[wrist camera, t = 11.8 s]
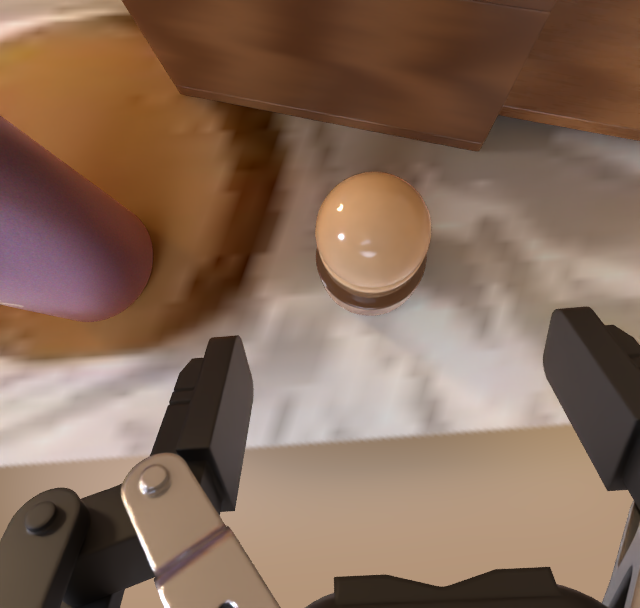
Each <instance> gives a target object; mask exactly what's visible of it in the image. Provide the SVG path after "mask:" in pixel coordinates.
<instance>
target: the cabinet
mask: <svg viewBox="0 0 640 608" xmlns="http://www.w3.org/2000/svg"><path fill="white" fill-rule="evenodd" d="M556 1H557V0H122V2H123V3H124V5H125V6H126V8H127V10H128V11H129V13H130V14H131V16H132V18H133V19H134V21H135V22H136V24H137V26H138V27H139V29H140V30H141V32H142V33H143V35H144V37H145V38H146V40H147V41H148V43H149V45H150V46H151V48H152V49H153V51H154V53H155V54H156V56H157V57H158V59H159V61H160V62H161V64H162V65H163V67H164V69H165V70H166V72H167V73H168V75H169V76H170V78H171V80H172V81H173V83H174V84H175V85H176V87H177V89H178V91H179V92H180V93H181V94H184V95H189V96H194V97H199V98H204V99H209V100H214V101H220V102H225V103H230V104H235V105H240V106H245V107H251V108H256V109H261V110H266V111H271V112H276V113H282V114H287V115H292V116H297V117H302V118H307V119H312V120H318V121H323V122H328V123H333V124H338V125H343V126H349V127H354V128H359V129H364V130H369V131H374V132H380V133H385V134H390V135H395V136H400V137H405V138H410V139H416V140H421V141H426V142H431V143H436V144H441V145H447V146H452V147H457V148H462V149H467V150H472V151H480V149H481V147H482V145H483V143H484V141H485V139H486V137H487V135H488V134H489V132H490V130H491V128H492V126H493V124H494V122H495V120H496V118H497V116H498V114H499V112H500V110H501V108H502V106H503V104H504V103H505V101H506V99H507V97H508V95H509V93H510V91H511V89H512V87H513V85H514V83H515V81H516V79H517V77H518V75H519V73H520V72H521V70H522V68H523V66H524V64H525V62H526V60H527V58H528V56H529V54H530V52H531V50H532V48H533V46H534V44H535V42H536V41H537V39H538V37H539V35H540V33H541V31H542V29H543V27H544V25H545V23H546V21H547V19H548V17H549V15H550V13H551V10H552V9H553V7H554V5H555V3H556Z"/></svg>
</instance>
